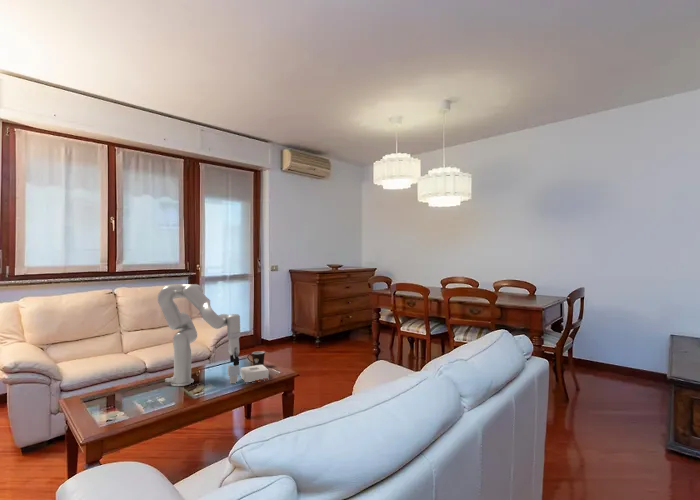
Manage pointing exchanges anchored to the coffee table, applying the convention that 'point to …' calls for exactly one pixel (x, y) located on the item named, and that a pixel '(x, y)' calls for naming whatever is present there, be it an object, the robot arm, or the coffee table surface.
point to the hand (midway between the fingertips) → (234, 363)
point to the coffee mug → (257, 358)
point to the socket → (253, 373)
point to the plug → (233, 373)
